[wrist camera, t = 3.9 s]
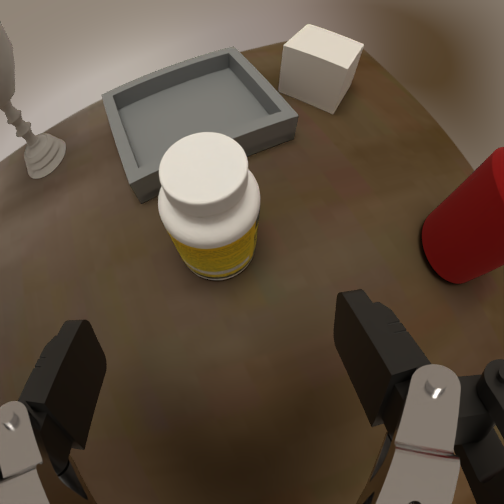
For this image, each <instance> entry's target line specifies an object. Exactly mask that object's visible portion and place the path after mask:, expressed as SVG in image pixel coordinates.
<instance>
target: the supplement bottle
mask: <svg viewBox="0 0 504 504" xmlns="http://www.w3.org/2000/svg"><path fill="white" fill-rule="evenodd" d="M159 179H160V183H161V189H160V192H159V196H158V210H159V214H160V217H161V220H162V222H163V224H164V226H165V228H166V230H167V232H168V234H169V235H170V237H171V239H172V241H173V243H174V245H175V246H176V248H177V250H178V252H179V254H180V255H181V257H182V259H183V261H184V262H185V264H186V265H187V267H188V268H189V269H190V270H191V271H192V272H194V273H195V274H196V275H198V276H200V277H202V278H205V279H209V280H224V279H228V278H231V277H234V276H235V275H237V274H239V273H240V272H242V271H243V270H244V269H245V268H246V267H247V266H248V264H249V263H250V262H251V260H252V258H253V255H254V252H255V247H256V239H257V230H258V220H259V212H260V191H259V187H258V184H257V181H256V179H255V177H254V176H253V174H252V173H251V172H250V171H249V169H248V160H247V156H246V154H245V152H244V150H243V148H242V147H241V146H240V145H239V144H238V143H237V142H236V141H235V140H233V139H232V138H230V137H228V136H226V135H223V134H220V133H214V132H201V133H196V134H192V135H189V136H186V137H184V138H182V139H180V140H179V141H177V142H176V143H174V144H173V145H172V146H171V147H170V148H169V149H168V150H167V151H166V152H165V154H164V156H163V158H162V160H161V162H160V166H159Z"/></svg>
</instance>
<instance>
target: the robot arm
mask: <svg viewBox="0 0 504 504" xmlns="http://www.w3.org/2000/svg"><path fill="white" fill-rule="evenodd" d="M334 342H335V346H336V349H337V351H338V353H339V355H340V357H341V360H342V362H343V364H344V366H345V368H346V370H347V373H348V375H349V377H350V379H351V381H352V384H353V386H354V388H355V390H356V392H357V395H358V397H359V399H360V401H361V404H362V406H363V408H364V410H365V413H366V415H367V417H368V420H369V422H370V424H371V426H372V427H374V426H377V425H380V424H383V423H384V424H385V427H386V429H387V432H386V434H385V437H384V440H383V443H382V446H381V449H380V451H379V454H378V457H377V459H376V462H375V464H374V467H373V469H372V472H371V474H370V477H369V479H368V482H367V484H366V486H365V488H364V490H363V492H362V494H361V495H360V497H359V499H358V501H357V503H356V504H452V500H453V496H454V492H455V488H456V483H457V479H458V474H459V469H460V465H461V467H462V469H463V472H464V474H465V476H466V478H467V481H468V483H469V486H470V488H471V490H472V493H473V495H474V498H475V500H476V503H477V504H504V447H503V445H502V443H501V441H500V439H499V437H498V435H497V434H496V432H495V430H494V428H493V427H494V426H495V425H496V426H497V428H498V429H499V431H500V433H501V435H502V437H503V438H504V360H502V359H498V360H493V361H491V362H490V363H489V364H488V365H487V366H486V368H485V369H484V371H483V373H482V375H473V376H462V377H457V376H456V374H455V373H454V372H453V371H451V370H450V369H448V368H447V367H444V366H441V365H436V364H431V363H430V361H429V360H428V359H427V357H426V356H425V354H424V353H423V352H422V350H421V349H420V347H419V346H418V345H417V343H416V342H415V341H414V339H413V338H412V337H411V335H410V334H409V332H406V328H405V327H404V326H403V324H402V323H400V321H399V319H398V318H397V317H396V315H395V314H394V313H393V311H392V310H391V309H389V308H388V307H386V306H384V305H383V304H381V303H380V302H375V303H372V301H371V300H370V299H369V297H368V296H367V294H366V293H365V292H364V291H363V290H362V289H359V290H353V291H347V292H341V293H338V295H337V301H336V312H335V322H334ZM105 373H106V358H105V354H104V352H103V350H102V348H101V346H100V344H99V342H98V340H97V337H96V335H95V333H94V331H93V328H92V326H91V324H90V323H89V321H87V320H69V321H66V322H65V323H64V324H63V326H62V328H61V329H60V331H59V333H58V335H57V336H55V337H54V338H53V339H52V340H51V341H50V342H49V343H48V344H47V345H46V346H45V348H44V350H43V351H42V353H41V355H40V359H38V361H37V363H36V365H35V368H34V369H33V371H32V373H31V375H30V377H29V379H28V381H27V383H26V385H25V387H24V389H23V391H22V393H21V395H20V398H19V400H18V401H11V402H8V403H6V404H4V405H2V406H1V407H0V504H97V503H96V502H95V500H94V498H93V496H92V495H91V493H90V491H89V489H88V487H87V486H86V484H85V482H84V480H83V478H82V476H81V474H80V472H79V470H78V468H77V466H76V464H75V462H74V460H73V458H72V457H71V456H70V455H69V454H70V450H71V448H75V449H82V450H84V449H85V445H86V441H87V437H88V433H89V429H90V425H91V421H92V418H93V414H94V410H95V407H96V403H97V399H98V396H99V393H100V389H101V386H102V383H103V379H104V376H105ZM453 449H454V451H455V454H456V455H454V453H453Z"/></svg>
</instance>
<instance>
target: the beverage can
mask: <svg viewBox="0 0 504 504" xmlns="http://www.w3.org/2000/svg"><path fill="white" fill-rule="evenodd" d="M422 243H423V248H424V252H425V254H426V257H427V259H428V261H429V263H430V265H431V266H432V268H433V269H434V270H435V271H436V272H437V273H438V275H440V276H441V277H442V278H443V279H445V280H447V281H449V282H452V283H458V284H460V283H465V282H467V281H470V280H472V279H474V278H476V277H479V276H481V275H483V274H486V273H488V272H490V271H492V270H494V269H496V268H498V267H500V266H502V265H504V147H501V148H498V149H496V150H495V151H494V152H493V153H492V154H491V155H490V156H489V157H488V158H487V159H486V160H485V161H484V162H483V163H482V164H481V165H480V166H479V167H478V168H477V169H476V170H475V171H474V172H473V173H472V174H471V175H470V176H469V177H468V178H467V179H466V180H465V181H464V182H463V183H462V184H461V185H460V186H459V187H458V188H457V189H456V190H455V191H453V192H452V193H451V194H450V195H449V196H448V197H447V198H446V199H445V200H444V201H443V202H442V203H441V204H440V205H439V206H438V207H437V208H436V209H435V210H434V211H433V212H431V213H430V214H429V215H428V217H427V218H426V220H425V222H424V225H423V229H422Z"/></svg>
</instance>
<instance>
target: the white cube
mask: <svg viewBox="0 0 504 504" xmlns="http://www.w3.org/2000/svg"><path fill="white" fill-rule="evenodd" d="M363 46H364V44H362V43H359V42H357V41H354V40H352V39H350V38H347V37H344V36H342V35H339V34H336V33H334V32H331V31H328V30H326V29H323V28H320V27H317V26H314V25H311V24H307V25H306V26H305V27H304V28H303V29H302V30H300V31H299V32H298V33H297V34H296V35H295V36H293V37H292V38H291V39H290V40H289V41H288V42H287V43H286V44H284V46H283V54H282V63H281V71H280V79H279V88H278V92H280V93H283V94H286V95H288V96H291V97H293V98H296V99H298V100H301V101H303V102H305V103H308V104H310V105H313V106H315V107H317V108H319V109H322V110H324V111H326V112H328V113H331V114H334V112H335V111H336V109H337V107H338V106H339V104H340V102H341V100H342V99H343V97H344V95H345V94H346V92H347V90H348V89H349V87H350V85H351V82H352V79H353V76H354V73H355V70H356V67H357V64H358V61H359V58H360V55H361V52H362V49H363Z"/></svg>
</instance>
